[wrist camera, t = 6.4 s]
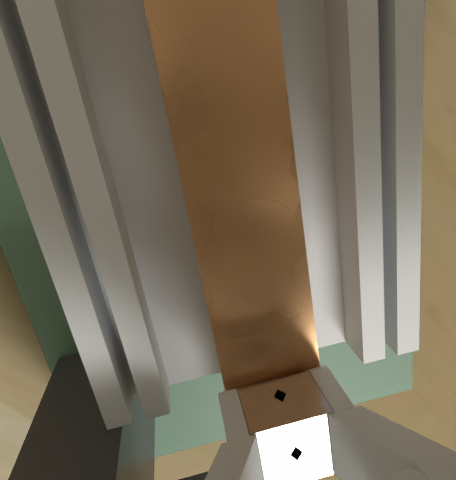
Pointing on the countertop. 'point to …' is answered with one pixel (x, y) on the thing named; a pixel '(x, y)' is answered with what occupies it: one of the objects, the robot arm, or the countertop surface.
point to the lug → (84, 435)
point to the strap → (238, 180)
